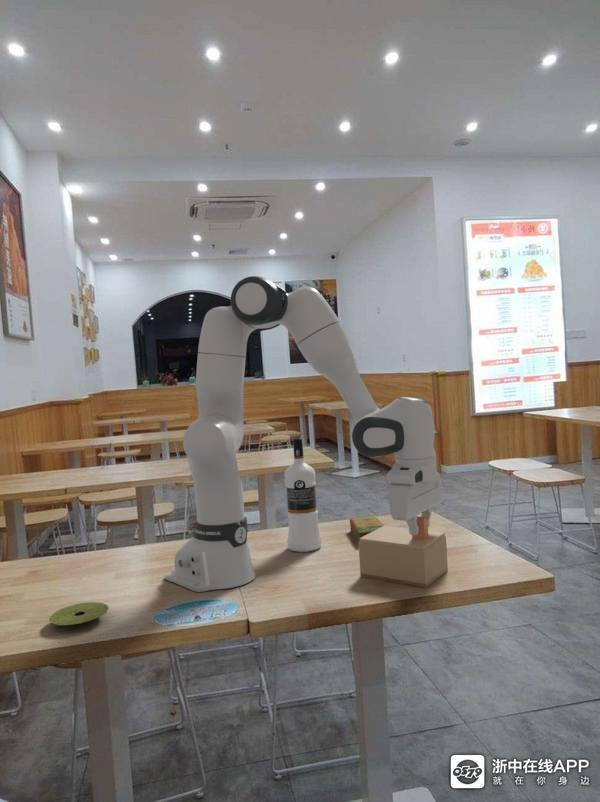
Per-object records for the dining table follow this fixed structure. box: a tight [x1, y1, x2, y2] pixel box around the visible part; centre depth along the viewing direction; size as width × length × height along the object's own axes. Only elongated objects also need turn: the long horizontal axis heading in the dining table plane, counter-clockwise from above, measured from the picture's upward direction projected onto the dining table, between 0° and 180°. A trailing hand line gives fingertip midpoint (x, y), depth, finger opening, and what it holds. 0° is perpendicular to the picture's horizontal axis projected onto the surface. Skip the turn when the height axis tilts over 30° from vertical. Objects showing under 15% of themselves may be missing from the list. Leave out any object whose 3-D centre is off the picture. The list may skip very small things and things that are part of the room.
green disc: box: [48, 601, 109, 626], centre depth 118 cm, size 11×11×2 cm
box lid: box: [359, 515, 446, 550], centre depth 133 cm, size 16×12×5 cm
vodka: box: [283, 437, 323, 553], centre depth 158 cm, size 9×9×30 cm
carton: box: [349, 516, 385, 546], centre depth 165 cm, size 8×16×4 cm, turn 4°
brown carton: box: [358, 535, 449, 589], centre depth 134 cm, size 16×12×8 cm
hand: (419, 531), depth 131 cm, fingers open, 4 cm apart
